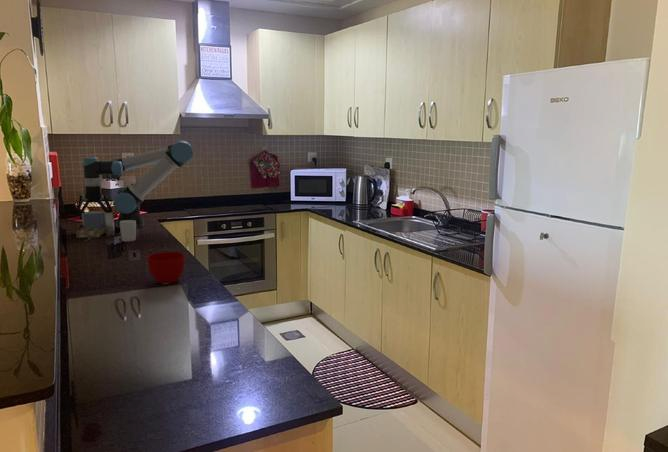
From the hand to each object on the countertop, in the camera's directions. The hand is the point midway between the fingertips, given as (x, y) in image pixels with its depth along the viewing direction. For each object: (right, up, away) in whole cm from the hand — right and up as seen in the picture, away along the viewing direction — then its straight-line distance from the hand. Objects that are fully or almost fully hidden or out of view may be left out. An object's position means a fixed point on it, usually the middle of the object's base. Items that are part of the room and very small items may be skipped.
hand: (95, 224), depth 276 cm
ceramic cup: (+69, -21, -90) cm, 116 cm away
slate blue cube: (0, -1, 0) cm, 1 cm away
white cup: (+27, -8, -20) cm, 34 cm away
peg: (+11, -5, -6) cm, 14 cm away
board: (+1, -5, -4) cm, 6 cm away
